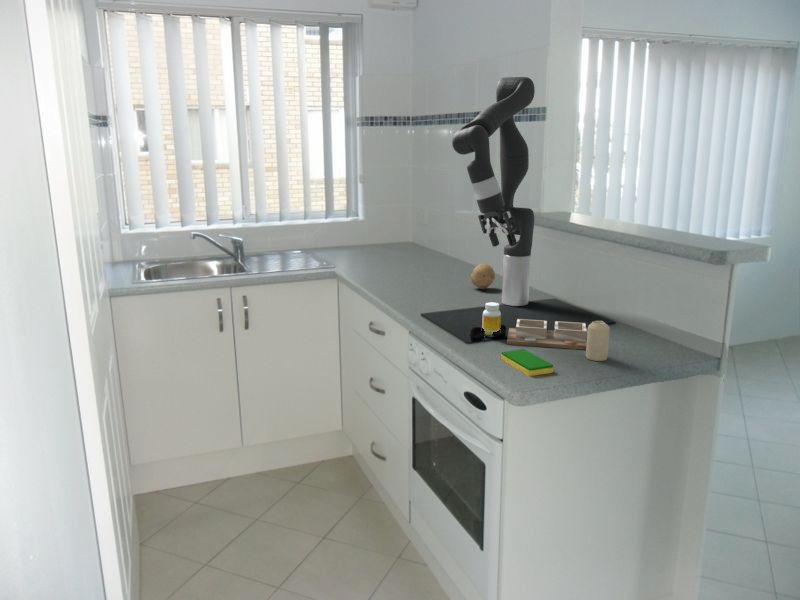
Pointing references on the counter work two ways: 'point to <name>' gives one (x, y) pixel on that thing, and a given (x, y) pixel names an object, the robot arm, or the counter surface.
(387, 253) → the counter surface
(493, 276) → the potato
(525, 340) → the socket board
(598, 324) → the candle
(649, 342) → the counter surface
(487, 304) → the supplement bottle
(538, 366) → the dish sponge
